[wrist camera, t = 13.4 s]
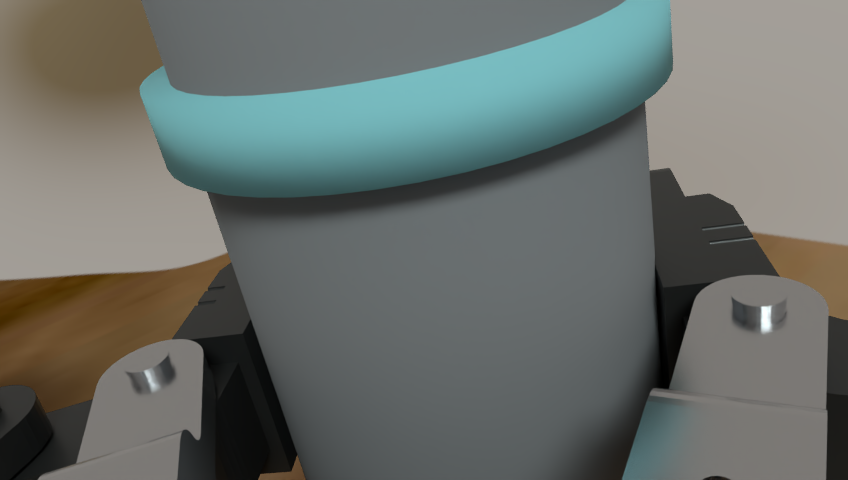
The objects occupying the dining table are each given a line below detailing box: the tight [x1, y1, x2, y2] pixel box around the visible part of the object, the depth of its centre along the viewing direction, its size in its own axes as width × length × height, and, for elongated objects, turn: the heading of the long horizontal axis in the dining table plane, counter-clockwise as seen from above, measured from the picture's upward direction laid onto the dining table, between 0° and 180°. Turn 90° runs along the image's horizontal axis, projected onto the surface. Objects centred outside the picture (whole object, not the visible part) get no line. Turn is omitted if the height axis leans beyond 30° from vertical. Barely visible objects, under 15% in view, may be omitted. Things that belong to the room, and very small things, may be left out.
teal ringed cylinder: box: [140, 0, 673, 480], centre depth 10 cm, size 6×6×14 cm
